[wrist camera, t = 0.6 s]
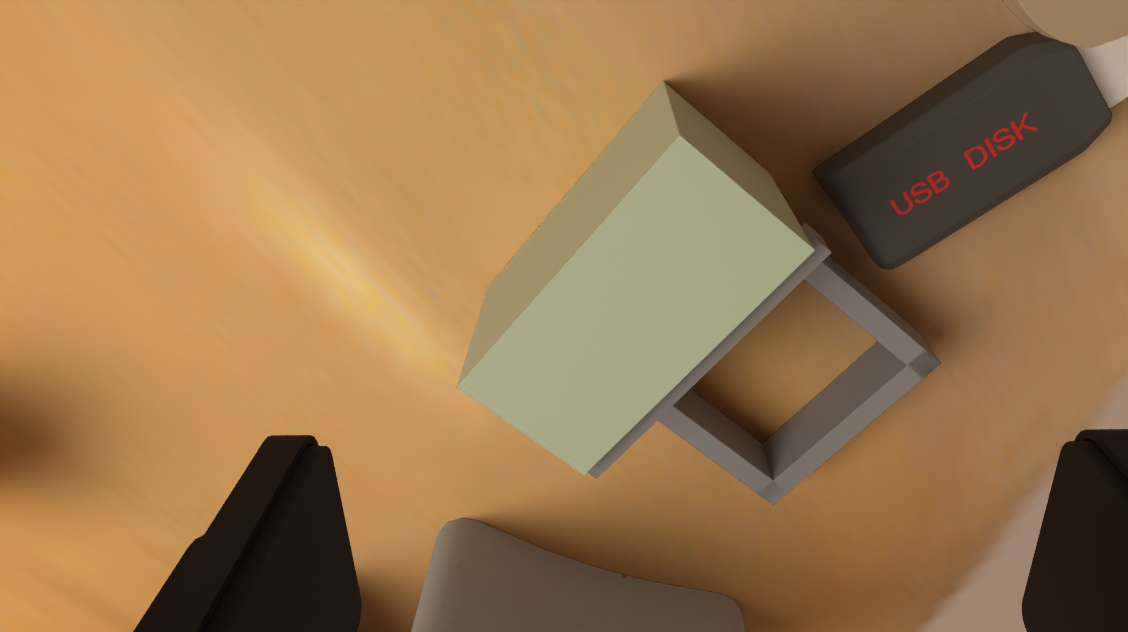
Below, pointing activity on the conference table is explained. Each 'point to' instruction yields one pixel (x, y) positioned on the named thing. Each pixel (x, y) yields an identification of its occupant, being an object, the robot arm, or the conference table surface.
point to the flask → (550, 592)
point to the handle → (1074, 19)
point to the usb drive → (974, 142)
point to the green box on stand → (672, 309)
